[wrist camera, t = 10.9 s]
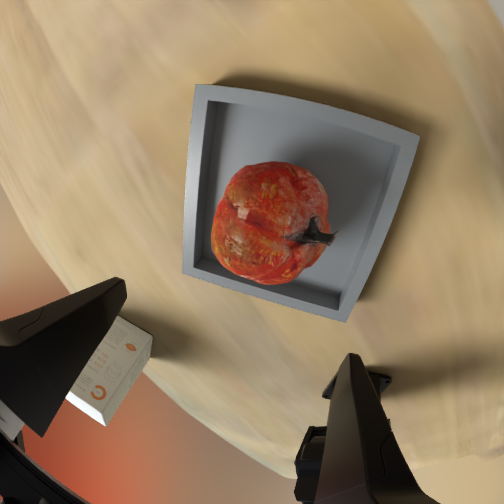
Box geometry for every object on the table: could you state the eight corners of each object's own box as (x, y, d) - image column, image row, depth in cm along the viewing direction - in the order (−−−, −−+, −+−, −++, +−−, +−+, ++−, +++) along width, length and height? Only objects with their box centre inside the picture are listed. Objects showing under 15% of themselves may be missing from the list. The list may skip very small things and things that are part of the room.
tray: (346, 302, 24) (345, 322, 22) (194, 258, 26) (182, 273, 24) (410, 131, 16) (420, 136, 14) (211, 84, 18) (195, 84, 16)
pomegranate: (260, 239, 25) (356, 293, 18) (180, 259, 21) (269, 340, 14) (266, 151, 22) (380, 178, 14) (178, 155, 17) (285, 184, 10)
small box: (106, 331, 38) (57, 393, 28) (105, 305, 35) (46, 373, 24) (151, 358, 38) (106, 428, 27) (154, 335, 35) (101, 414, 24)
